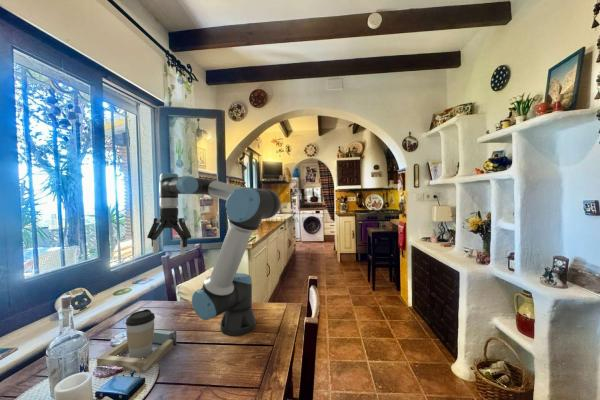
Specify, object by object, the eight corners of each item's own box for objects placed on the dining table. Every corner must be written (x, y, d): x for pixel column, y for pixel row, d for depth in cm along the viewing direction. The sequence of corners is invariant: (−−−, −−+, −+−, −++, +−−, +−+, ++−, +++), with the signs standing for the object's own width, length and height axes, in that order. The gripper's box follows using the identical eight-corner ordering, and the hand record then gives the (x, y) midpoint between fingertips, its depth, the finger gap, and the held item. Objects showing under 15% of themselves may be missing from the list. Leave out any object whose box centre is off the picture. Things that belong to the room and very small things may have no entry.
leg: (172, 342, 98) (172, 331, 98) (168, 344, 97) (168, 334, 97) (144, 338, 101) (144, 328, 101) (140, 341, 99) (140, 330, 99)
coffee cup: (141, 363, 86) (140, 319, 86) (118, 360, 87) (118, 317, 88) (160, 348, 94) (160, 308, 95) (140, 346, 96) (140, 306, 96)
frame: (178, 343, 98) (178, 335, 98) (145, 372, 81) (145, 363, 81) (137, 339, 101) (137, 332, 101) (96, 367, 84) (96, 358, 84)
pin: (177, 343, 98) (177, 330, 98) (174, 345, 96) (174, 332, 96) (173, 343, 98) (173, 330, 98) (170, 345, 96) (170, 332, 97)
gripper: (199, 207, 116) (199, 253, 115) (150, 207, 119) (150, 251, 119) (189, 207, 108) (189, 256, 108) (138, 207, 112) (138, 255, 112)
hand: (169, 254), depth 114 cm, fingers open, 13 cm apart
